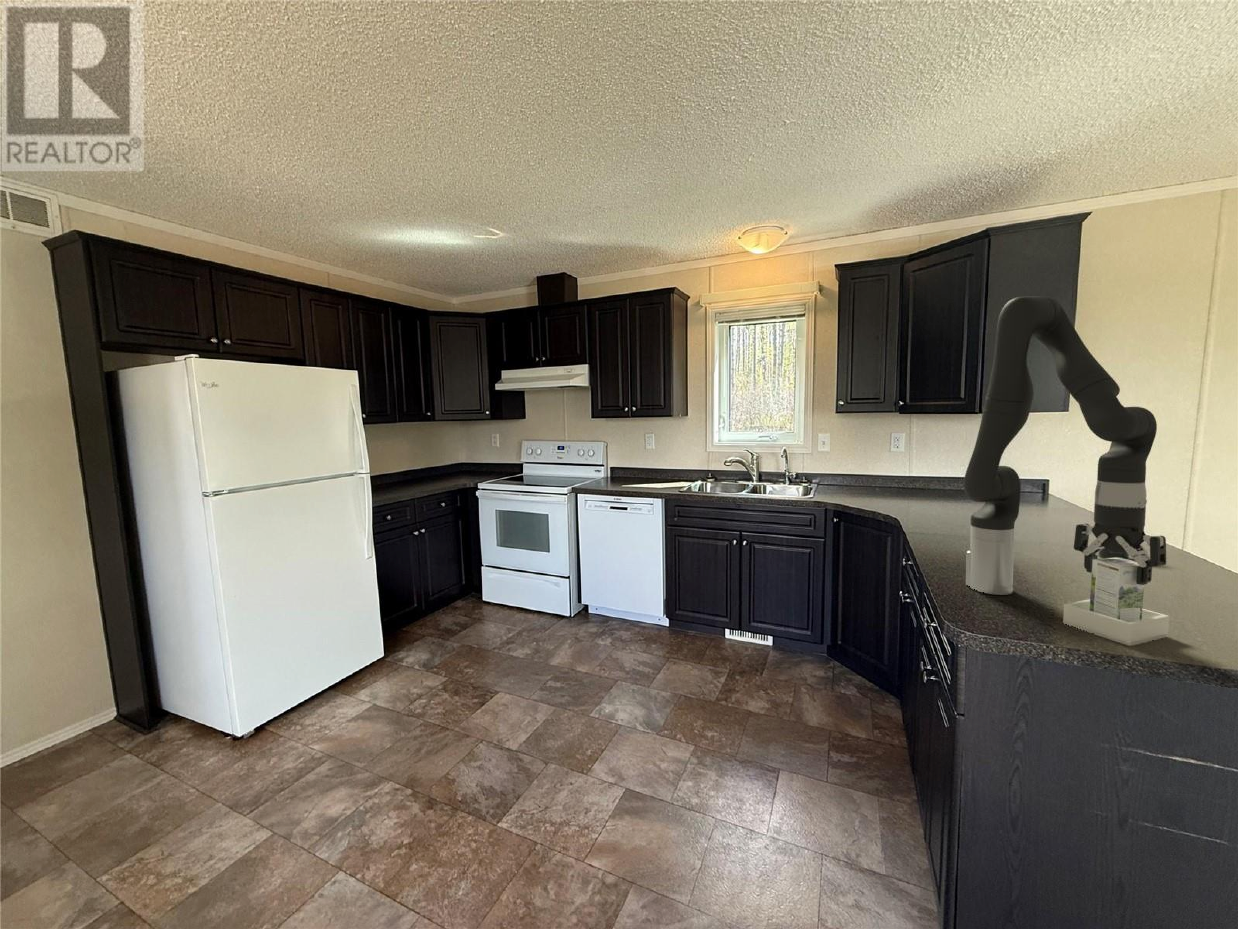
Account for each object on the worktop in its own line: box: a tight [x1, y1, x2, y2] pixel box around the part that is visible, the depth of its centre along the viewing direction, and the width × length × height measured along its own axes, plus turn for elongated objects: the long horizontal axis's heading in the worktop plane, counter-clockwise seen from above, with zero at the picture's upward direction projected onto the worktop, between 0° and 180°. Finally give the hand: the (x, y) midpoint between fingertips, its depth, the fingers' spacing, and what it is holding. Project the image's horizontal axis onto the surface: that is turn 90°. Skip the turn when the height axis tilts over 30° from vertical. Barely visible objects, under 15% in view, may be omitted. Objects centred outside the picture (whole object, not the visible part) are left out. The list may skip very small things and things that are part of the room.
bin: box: [1062, 598, 1170, 647], centre depth 104 cm, size 12×12×4 cm
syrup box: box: [1089, 558, 1145, 622], centre depth 103 cm, size 6×6×14 cm
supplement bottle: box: [1097, 548, 1130, 560], centre depth 151 cm, size 7×7×12 cm
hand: (1116, 577), depth 103 cm, fingers open, 8 cm apart
